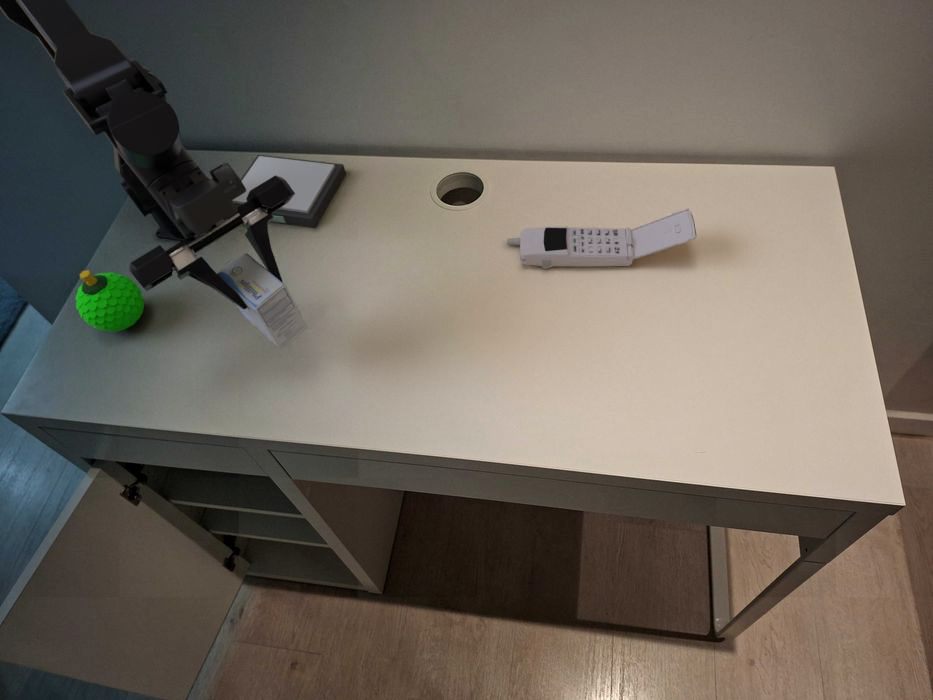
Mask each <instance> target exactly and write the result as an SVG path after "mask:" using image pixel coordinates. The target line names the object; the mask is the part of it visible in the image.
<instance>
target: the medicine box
mask: <svg viewBox="0 0 933 700" xmlns="http://www.w3.org/2000/svg"><path fill="white" fill-rule="evenodd" d="M216 273H217V274H218V275H219V276H220V277H221V278H222V279H223V280H224V281H225V282H226V283H227V284H228V286H229V287H230V288H231V289H232V290H233V291H234V292H235V293H236V294H237V295H238V296H239V297H240V298H241V299H242V301H243V302H244V303H245V305H246V306H247V308H246V309H245V310H244V309H242V308H241V307H239V306H238V305H236V307H237V308H238V310H239V311H240V313H241V314H242V315H243V317H244V318H245V319H246V320H247V321H248V322H249V323H251V325H253V326H254V327H255V328H256V329H257V330H258V331H260V332H261V333H262V334H263V335H264V336H265V337H266V338H267V339H269V340H270V341H271V342H272V343H274V344H275V345H276V346H277V347H278V348H279V349H280V350H281V351H283V350H284V349H286V348H287V347H288V346H289V345H290V344H291V343H293V342H294V341H296V339H298V338H299V337H300V336H301V335H303V333H305V332H306V331H308V329H309V325H308V323H307V322H306V320H305V318H304V316H303V314H302V313H301V310H300V309H299V306H298V305H297V303H296V301H295V300H294V297H293V296H292V295H291V292H290V291H289V289H288V287H287V285H286V284H285V283H284V282H283V283H282V282H281V281H280V280H279V279H278V278H276V277H275V276H274V275H273V274H272V273H270V272H269V271H268V270H267V269H266V267H265V266H264V265H262V264H260V262H258V261H257V260H256V259H254V257H253V256H251V255H250V254H249V253H247V252H246V253H244V254H242V255H241V256H239V257H237V258H236V259H235V260H233V261H232V262H231V263H229V264H227V265H226V266H225V267H224V268H222V269H221V270H220V271H218V272H216Z"/></svg>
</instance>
